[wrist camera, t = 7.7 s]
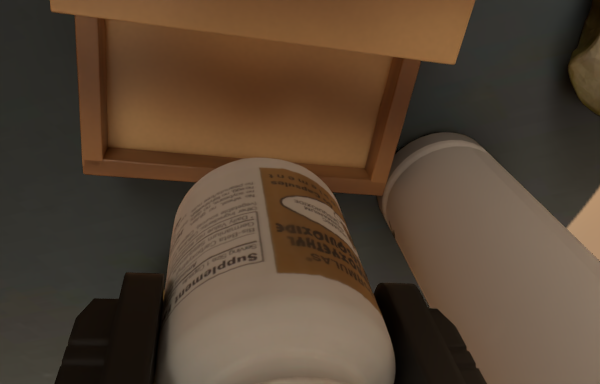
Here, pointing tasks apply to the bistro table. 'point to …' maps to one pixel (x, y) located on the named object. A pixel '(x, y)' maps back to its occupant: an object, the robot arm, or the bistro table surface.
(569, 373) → the travel mug
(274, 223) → the pill bottle
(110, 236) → the bistro table surface
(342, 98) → the stand
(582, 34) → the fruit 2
